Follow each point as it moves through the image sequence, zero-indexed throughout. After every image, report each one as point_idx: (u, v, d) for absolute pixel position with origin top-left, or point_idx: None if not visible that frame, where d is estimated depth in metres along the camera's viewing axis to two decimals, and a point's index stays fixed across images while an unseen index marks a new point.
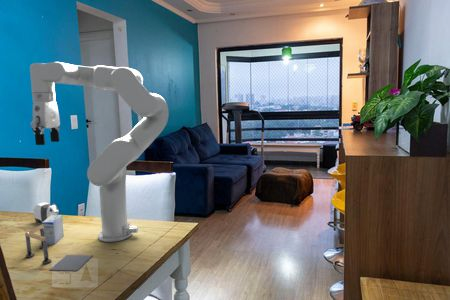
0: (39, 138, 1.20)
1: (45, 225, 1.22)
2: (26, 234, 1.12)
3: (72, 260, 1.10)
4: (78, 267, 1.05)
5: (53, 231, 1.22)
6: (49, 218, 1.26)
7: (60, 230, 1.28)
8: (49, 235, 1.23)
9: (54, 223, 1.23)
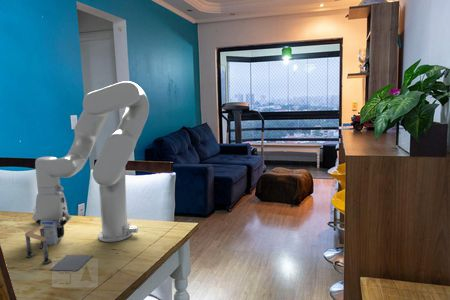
0: (63, 230, 1.26)
1: (45, 224, 1.22)
2: (26, 234, 1.12)
3: (72, 260, 1.10)
4: (78, 267, 1.05)
5: (53, 231, 1.22)
6: None
7: None
8: (49, 235, 1.22)
9: (54, 223, 1.23)
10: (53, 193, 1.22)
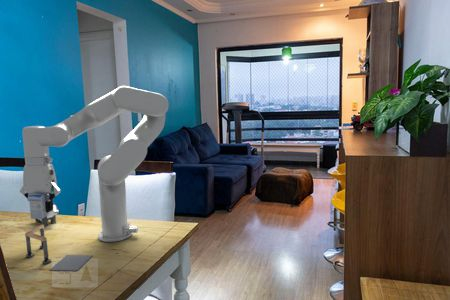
0: (52, 204, 1.20)
1: (33, 197, 1.15)
2: (26, 234, 1.12)
3: (72, 260, 1.10)
4: (78, 267, 1.05)
5: (40, 205, 1.16)
6: None
7: None
8: (37, 208, 1.16)
9: (42, 196, 1.16)
10: (41, 164, 1.15)
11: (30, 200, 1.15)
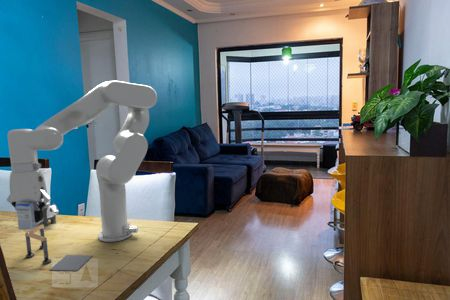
0: (42, 213, 1.10)
1: (20, 207, 1.06)
2: (26, 234, 1.12)
3: (72, 260, 1.10)
4: (78, 267, 1.05)
5: (29, 214, 1.06)
6: None
7: None
8: (25, 219, 1.07)
9: (31, 205, 1.07)
10: (29, 170, 1.06)
11: (17, 210, 1.06)
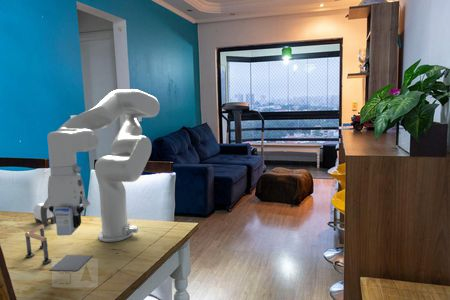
0: (80, 218, 1.06)
1: (59, 212, 1.02)
2: (26, 234, 1.12)
3: (72, 260, 1.10)
4: (78, 267, 1.05)
5: (68, 220, 1.02)
6: None
7: None
8: (64, 224, 1.02)
9: (70, 210, 1.03)
10: (69, 174, 1.02)
11: (56, 215, 1.02)
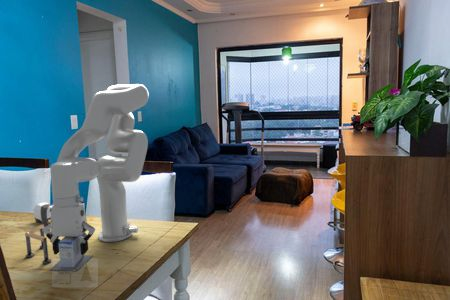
0: (87, 245, 1.08)
1: (63, 245, 1.04)
2: (26, 234, 1.12)
3: None
4: (78, 267, 1.05)
5: (71, 252, 1.04)
6: None
7: (80, 250, 1.09)
8: (67, 257, 1.04)
9: (73, 243, 1.04)
10: (71, 205, 1.03)
11: (60, 247, 1.04)
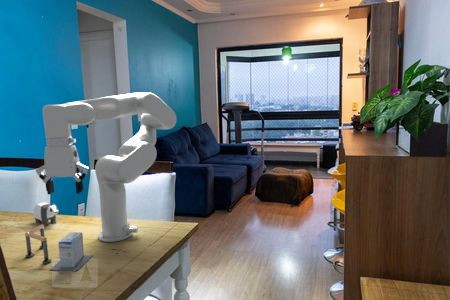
0: (82, 184, 1.12)
1: (63, 245, 1.04)
2: (26, 234, 1.12)
3: None
4: (78, 267, 1.05)
5: (71, 252, 1.04)
6: (67, 236, 1.07)
7: (80, 250, 1.09)
8: (67, 257, 1.04)
9: (73, 243, 1.04)
10: (65, 145, 1.07)
11: (60, 247, 1.04)
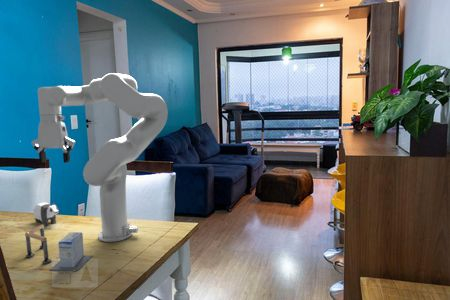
0: (69, 155, 1.33)
1: (63, 245, 1.04)
2: (26, 234, 1.12)
3: None
4: (78, 267, 1.05)
5: (71, 252, 1.04)
6: (67, 236, 1.07)
7: (80, 250, 1.09)
8: (67, 257, 1.04)
9: (73, 243, 1.04)
10: (55, 121, 1.28)
11: (60, 247, 1.04)
